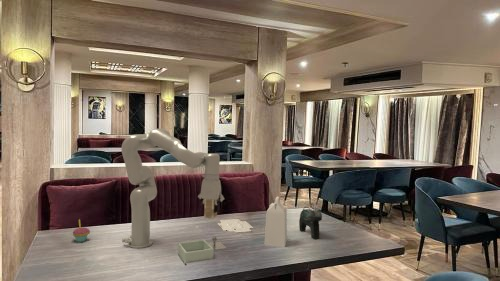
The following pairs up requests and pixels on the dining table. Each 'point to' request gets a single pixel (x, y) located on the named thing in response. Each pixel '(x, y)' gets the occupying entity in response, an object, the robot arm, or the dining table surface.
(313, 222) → the dark grey animal figurine
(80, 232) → the cupcake
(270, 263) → the dining table surface
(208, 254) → the bin
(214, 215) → the strut
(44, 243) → the dining table surface
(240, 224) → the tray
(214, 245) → the stud plate
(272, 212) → the milk
